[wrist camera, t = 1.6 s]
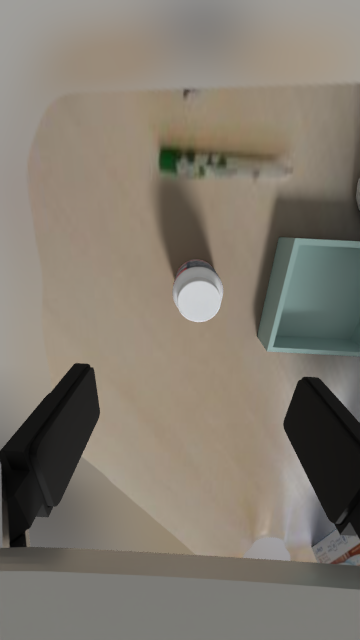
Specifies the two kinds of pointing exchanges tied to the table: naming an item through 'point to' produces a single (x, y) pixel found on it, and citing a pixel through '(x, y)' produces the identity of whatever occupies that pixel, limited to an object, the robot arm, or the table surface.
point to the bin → (313, 298)
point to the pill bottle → (197, 290)
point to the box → (338, 549)
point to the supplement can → (358, 194)
